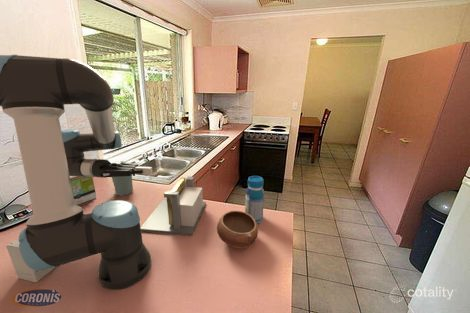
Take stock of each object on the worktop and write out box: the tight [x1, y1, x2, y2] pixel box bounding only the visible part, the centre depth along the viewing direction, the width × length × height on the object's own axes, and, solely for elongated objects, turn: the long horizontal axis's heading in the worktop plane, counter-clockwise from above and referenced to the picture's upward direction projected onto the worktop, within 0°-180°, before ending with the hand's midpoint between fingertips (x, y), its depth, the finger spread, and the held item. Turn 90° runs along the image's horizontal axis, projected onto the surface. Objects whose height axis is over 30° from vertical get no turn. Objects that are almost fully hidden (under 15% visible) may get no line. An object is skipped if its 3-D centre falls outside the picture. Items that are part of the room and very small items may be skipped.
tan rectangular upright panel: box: [166, 177, 187, 225], centre depth 95 cm, size 2×19×13 cm, turn 175°
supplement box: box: [5, 237, 55, 283], centre depth 66 cm, size 7×7×13 cm
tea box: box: [70, 176, 97, 206], centre depth 109 cm, size 15×10×15 cm, turn 58°
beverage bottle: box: [244, 175, 265, 224], centre depth 94 cm, size 8×8×20 cm
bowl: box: [216, 210, 259, 249], centre depth 82 cm, size 16×16×10 cm
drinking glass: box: [111, 174, 134, 196], centre depth 116 cm, size 10×10×12 cm
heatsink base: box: [140, 176, 207, 236], centre depth 95 cm, size 22×24×17 cm
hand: (151, 170), depth 87 cm, fingers closed
